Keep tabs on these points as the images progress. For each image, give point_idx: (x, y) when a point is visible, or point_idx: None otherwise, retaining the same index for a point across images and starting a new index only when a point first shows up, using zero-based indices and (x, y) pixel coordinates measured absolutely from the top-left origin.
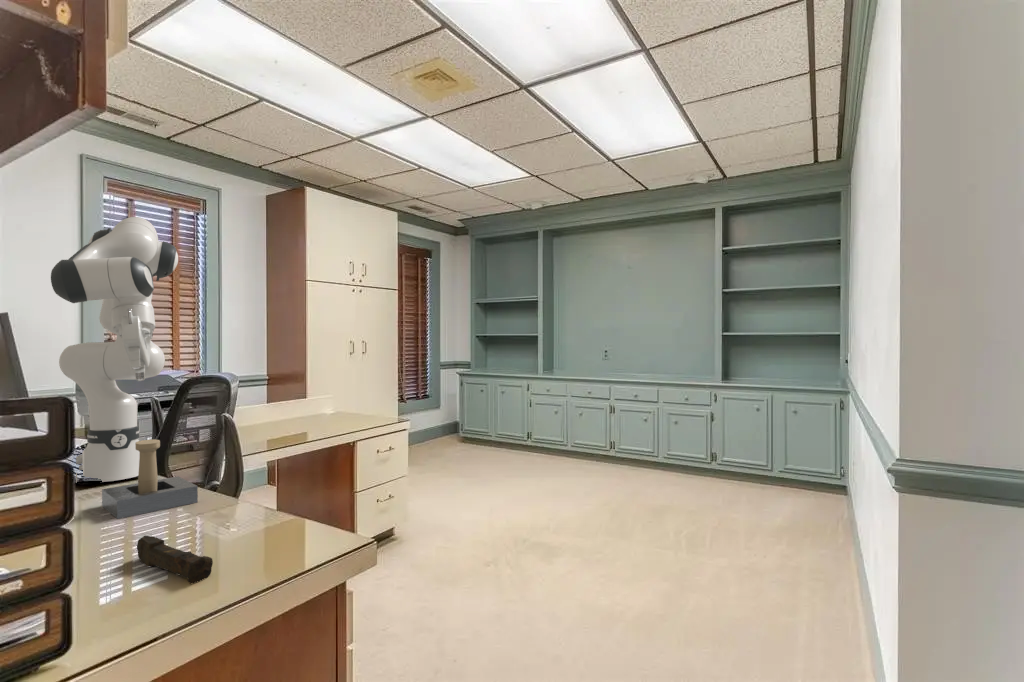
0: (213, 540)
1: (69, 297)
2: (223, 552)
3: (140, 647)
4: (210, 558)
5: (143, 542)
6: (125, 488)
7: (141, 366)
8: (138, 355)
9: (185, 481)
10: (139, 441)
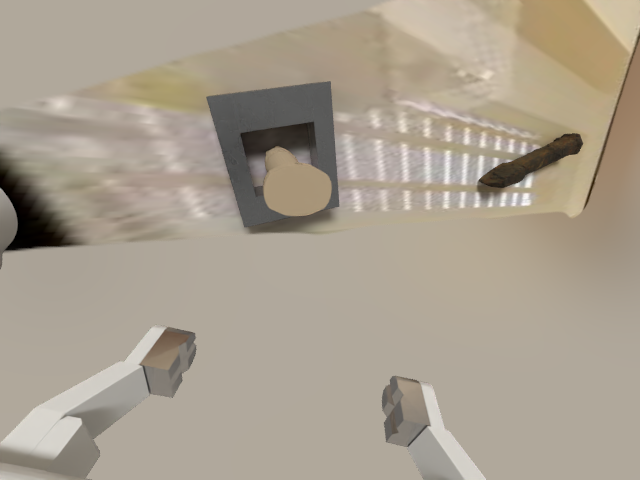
0: (497, 108)
1: None
2: (533, 109)
3: (593, 186)
4: (580, 136)
5: (511, 184)
6: (262, 196)
7: (85, 438)
8: (470, 465)
9: (273, 93)
10: (279, 208)
